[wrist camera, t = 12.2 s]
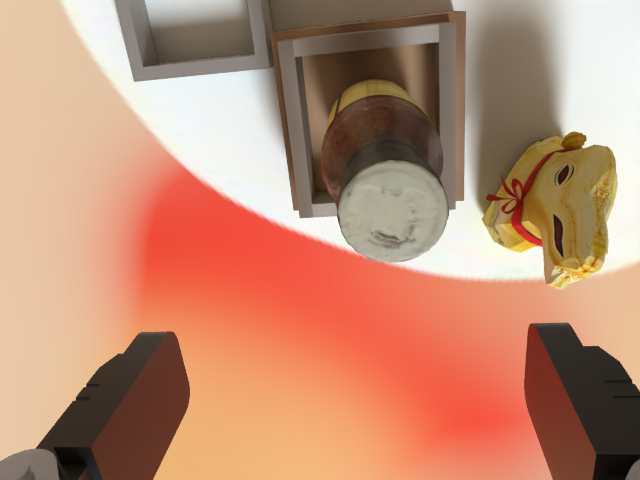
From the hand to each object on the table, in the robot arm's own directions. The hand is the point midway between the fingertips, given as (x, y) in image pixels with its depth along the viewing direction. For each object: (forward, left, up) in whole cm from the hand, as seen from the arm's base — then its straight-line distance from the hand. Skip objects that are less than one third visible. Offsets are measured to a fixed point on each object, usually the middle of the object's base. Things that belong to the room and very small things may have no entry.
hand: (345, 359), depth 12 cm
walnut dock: (0, 0, -34) cm, 34 cm away
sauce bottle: (0, 0, -28) cm, 28 cm away
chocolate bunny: (-12, +7, -34) cm, 36 cm away
